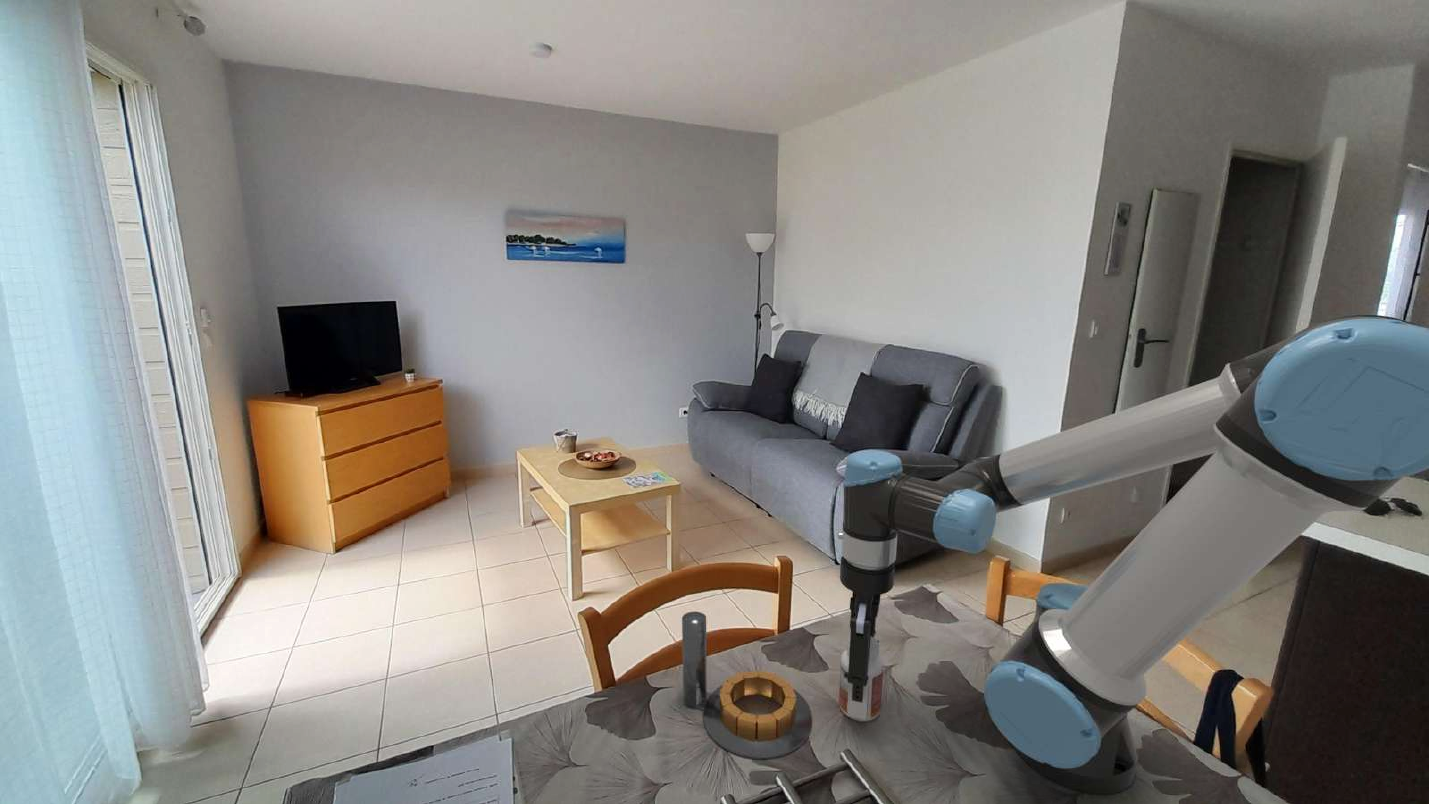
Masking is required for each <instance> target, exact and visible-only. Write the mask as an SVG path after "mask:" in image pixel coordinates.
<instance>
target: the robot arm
mask: <svg viewBox="0 0 1429 804" xmlns="http://www.w3.org/2000/svg"><path fill="white" fill-rule="evenodd" d="M1209 455H1211V456H1210V458H1209V459H1207V460H1206V462H1205V463H1203V465H1202V466H1201V467H1200V468H1199V469H1198V470H1197V472H1195V473H1194V475H1193V476H1192V477H1191V478H1190V479H1189V480H1188V481H1187V482H1186V483H1185V484H1184V485H1183V486H1182V487H1181V488H1180V489H1179V490H1178V491H1177V492H1176V493H1175V495H1174V496H1173V497H1172V498H1171V499H1170V500H1169V501H1168V502H1167V503H1166V504H1165V505H1164V507H1163V508H1162V509H1161V510H1159V512H1158V513H1157V514H1156V515H1155V516H1154V517H1153V518H1152V519H1151V520H1150V521H1149V522H1148V523H1147V524H1146V526H1145V527H1144V528H1143V529H1141V531H1140V532H1139V534H1137V535H1136V536H1135V538H1134V539H1132V541H1131V542H1130V543H1129V544H1128V545H1127V546H1126V547H1125V548H1124V549H1123V550H1122V551H1121V553H1119V554H1118V556H1116V558H1114V560H1113V561H1112V562H1111V563H1110V564H1109V565H1108V566H1107V567H1106V569H1105V570H1104V571H1103V572H1102V573H1101V574H1100V575H1099V576H1098V577H1097V578H1096V579H1095V580H1094V581H1093V582H1092V583H1091V584H1090V586H1086V585H1085V586H1084V585H1080V584H1075V583H1069V582H1068V583H1067V582H1052V583H1048V584H1044V585H1043V586H1041V587H1040V588H1039V590H1038V592H1037V593H1038V594H1037V597H1036V599H1035V603H1036V605H1035V613H1034V617H1033V620H1032V622H1031V623H1030V625H1028V627H1027V628H1026V629H1025V631H1023V632H1022V634H1021V635H1020V636H1019V638H1017V640H1016V641H1015V642H1014V643H1013V644H1012V646H1011V647H1010V648H1009V650H1008V651H1007V652H1006V653H1005V655H1004V656H1003V657H1002V658H1001V659H1000V660H999V661H998V662H997V663H995V664H994V665H993V666H992V667H991V669H990V671H989V676H988V677H987V679H986V680H985V684H984V689H983V690H984V691H983V696H984V701H985V704H986V707H987V708H988V713H989V716H990V719H991V720H992V722H993V723H994V725H995V726H996V728H997V729H998V731H999V733H1001V734H1002V735H1003V737H1005V738H1006V740H1007V741H1008V742H1010V743H1011V746H1012V747H1013V749H1014V750H1015V751H1016V753H1017V754H1018V755H1019V757H1020V758H1022V760H1023V761H1025V763H1026V764H1028V765H1029V766H1030V767H1031V768H1033V769H1034V770H1036V771H1037V772H1038V773H1040V774H1041V775H1042V776H1044V777H1046V778H1048V779H1049V780H1051V781H1053V782H1055V783H1056V784H1057V783H1058V784H1059V785H1062V786H1064V787H1067V788H1069V789H1073V790H1077V791H1080V792H1083V793H1089V794H1094V795H1095V794H1096V795H1110V794H1116V793H1120V792H1122V791H1125V790H1126V789H1127V788H1129V787H1130V786H1131V785H1132V784H1133V782H1134V780H1135V776H1136V772H1137V766H1138V765H1137V764H1138V756H1137V751H1136V748H1135V743H1134V739H1133V735H1132V731H1131V726H1130V723H1129V719H1128V713H1130V712H1131V711H1132V710H1134V709H1135V708H1136V707H1137V706H1138V705H1139V704H1140V703H1142V702H1143V700H1145V698H1146V696H1147V691H1148V690H1147V683H1146V680H1145V676H1144V675H1145V674H1146V673H1147V672H1148V671H1149V670H1151V669H1152V667H1154V666H1155V664H1157V663H1158V662H1159V661H1160V660H1161V659H1163V658H1164V657H1165V656H1166V655H1167V654H1169V652H1170V651H1172V650H1173V649H1174V648H1175V647H1176V646H1177V645H1178V644H1180V642H1182V641H1183V640H1184V639H1185V638H1187V636H1188V635H1189V634H1191V633H1192V632H1193V631H1194V630H1195V629H1196V628H1197V627H1198V626H1200V625H1201V624H1202V623H1203V622H1205V620H1207V619H1208V618H1209V617H1210V616H1211V615H1213V613H1215V612H1216V610H1218V608H1220V607H1221V606H1222V605H1223V604H1224V603H1225V602H1227V601H1228V600H1229V599H1230V598H1231V597H1232V596H1233V595H1235V594H1236V593H1237V592H1238V591H1239V590H1240V589H1241V588H1242V587H1244V586H1245V585H1246V584H1247V583H1248V582H1249V581H1250V580H1252V579H1253V577H1255V576H1256V575H1257V574H1258V573H1259V572H1260V571H1262V570H1263V569H1264V568H1265V567H1266V566H1267V565H1268V564H1269V563H1270V562H1272V561H1273V560H1274V559H1275V558H1276V557H1278V555H1279V554H1281V553H1282V552H1283V551H1284V550H1285V549H1287V547H1288V546H1290V545H1291V544H1292V543H1293V542H1294V541H1295V540H1297V539H1298V537H1300V536H1301V535H1302V534H1303V533H1304V532H1305V531H1307V530H1308V529H1309V528H1310V527H1311V526H1312V525H1313V524H1315V522H1316V521H1318V520H1319V519H1320V518H1321V517H1323V515H1324V514H1327V513H1330V512H1359V511H1360V512H1361V511H1364V510H1366V509H1367V508H1369V507H1370V506H1371V505H1372V504H1373V503H1375V501H1377V500H1378V499H1379V498H1381V497H1382V496H1383V495H1384V494H1385V493H1387V491H1389V490H1390V489H1391V488H1392V487H1393V486H1394V485H1396V484H1397V483H1398V482H1399V481H1400V480H1401V479H1403V478H1404V477H1408V476H1412V475H1416V474H1417V473H1421V472H1424V471H1427V470H1429V328H1428V327H1424V326H1419V325H1417V324H1415V323H1412V322H1411V321H1406V320H1404V319H1401V318H1396V317H1393V316H1385V315H1379V314H1353V315H1345V316H1337V317H1333V318H1329V319H1326V320H1323V321H1320V322H1317V323H1314V324H1312V325H1309V326H1307V327H1306V328H1304V329H1302V330H1300V331H1298V332H1297V333H1295V334H1293V335H1291V336H1289V337H1287V338H1285V339H1284V340H1281V341H1280V342H1277V343H1275V344H1273V345H1271V346H1268V347H1267V348H1264V349H1262V350H1260V351H1258V352H1255V353H1253V354H1250V355H1248V356H1246V357H1242V358H1240V359H1238V360H1237V359H1236V360H1234V361H1232V362H1229V363H1227V364H1225V366H1224V368H1223V370H1222V372H1221V374H1220V375H1219V376H1217V377H1215V378H1213V379H1209V380H1206V381H1204V382H1201V383H1199V384H1195V385H1193V386H1188V387H1187V388H1184V389H1180V390H1178V391H1175V392H1172V393H1169V394H1166V395H1164V396H1161V397H1158V398H1155V399H1152V400H1150V401H1147V402H1144V403H1141V404H1138V405H1135V406H1132V407H1129V408H1126V409H1123V410H1121V411H1118V412H1115V413H1112V414H1109V415H1107V416H1106V415H1105V416H1103V417H1100V418H1098V419H1095V420H1092V421H1089V422H1086V423H1083V424H1081V425H1077V426H1075V427H1072V428H1069V429H1066V430H1063V431H1061V432H1058V433H1055V434H1052V435H1049V436H1046V437H1043V438H1040V439H1038V440H1035V441H1032V442H1029V443H1026V444H1024V445H1023V444H1022V445H1020V446H1018V447H1015V448H1011V449H1009V450H1006V451H1003V452H1002V453H998V454H994V455H992V456H986V457H979V458H977V459H974V460H971V461H970V462H968V463H965V465H964V466H963V467H961V468H959V469H958V470H956V471H953V472H951V473H950V474H949V475H947V476H944V477H943V478H941V479H939V480H937V481H934V480H932V481H931V480H927V479H924V478H919V477H915V476H912V475H908V474H905V473H903V466H902V465H903V462H902V460H901V458H900V457H899V456H897V455H896V454H893V453H891V452H888V451H884V450H877V449H875V450H874V449H867V450H866V449H865V450H858V451H856V452H853V453H851V454H850V455H849V456H848V457H847V460H846V462H845V472H844V481H843V483H842V485H843V516H842V517H843V519H842V520H843V521H842V532H838V534H837V538H838V539H839V540H842V542H841V557H840V568H839V569H840V571H839V579H840V583H841V585H842V586H843V587H844V588H846V589H847V590H849V591H851V592H852V596H851V597H850V600H849V610H850V618H849V619H850V620H849V627H850V636H849V637H850V653H849V669H848V672H845V673H844V678H847V680H848V681H847V682H848V683H849V688H848V708H847V715H848V716H852V717H856V718H860V719H864V720H866V718H867V703H868V686H869V676H868V666H869V653H870V641H871V637H873V638H875V636H876V634H877V632H876V623H877V617H878V616H879V615H878V614H879V611H880V610H879V608H880V603H881V595H884V594H887V593H889V592H890V591H891V590H892V589H893V588H894V582H895V571H896V570H895V569H896V564H895V561H896V559H897V545H898V544H897V543H898V532H901V533H904V534H908V535H910V536H914V537H916V538H919V539H921V540H925V541H929V542H931V543H933V544H937V545H941V547H944V548H946V549H951V550H958V551H962V552H965V553H966V552H967V553H970V554H978V553H980V552H982V551H983V550H984V549H985V548H987V546H988V543H989V541H990V540H991V539H992V536H993V533H994V530H995V525H996V520H997V514H999V513H1002V512H1006V511H1008V510H1012V509H1017V508H1020V507H1022V506H1026V505H1028V504H1033V503H1036V502H1039V501H1042V500H1043V501H1044V500H1047V499H1050V498H1054V497H1057V496H1061V495H1064V494H1069V493H1073V492H1076V491H1079V490H1080V491H1081V490H1083V489H1089V488H1091V487H1094V486H1098V485H1102V484H1106V483H1110V482H1113V481H1117V480H1120V479H1125V478H1128V477H1132V476H1136V475H1138V474H1139V475H1140V474H1143V473H1146V472H1151V471H1155V470H1157V469H1162V468H1165V467H1170V466H1172V465H1175V464H1179V463H1183V462H1187V461H1192V460H1194V459H1198V458H1202V457H1206V456H1209ZM876 640H877V639H876ZM877 641H878V643H880V640H877ZM847 715H846V716H847ZM848 716H847V717H848Z"/></svg>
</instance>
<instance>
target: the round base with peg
mask: <svg viewBox="0 0 1429 804" xmlns="http://www.w3.org/2000/svg"><path fill="white" fill-rule="evenodd" d="M681 622H682V623H681V624H682V625H681V626H682V627H681V628H682V629H681V634H682V638H681V639H682V641H681V642H682V697H683V699H682V702H683V704H684V705H685V707H687V708H689V709H693V710H695V709H696V710H700V711H703V714H702V715H703V724H704V728H705V731H706V732H707V734H708V735H709V737H710V738H711V739H712V740H713V742H714V743H715V744H716V745H717V746H719V747H720V748H722V749H723V750H725V751H726V752H728V753H731V754H733V755H735V756H737V757H742V758H744V759H745V758H746V759H751V760H752V759H753V760H771V759H776V758H777V759H778V758H781V757H783V756H787V755H789V754H791V753H793V752H795V751H796V750H798V749H800V747H802V746H803V745H804V744H805V742H806V741H807V739H808V738H809V736H810V734H811V731H812V727H813V715H812V711H811V708H810V706H809V704H808V701H806V699H805V698H804V696H803V695H802V694H801V693H800V692H798V691H797V690H796V689H795V688H793V686H792V685H791V683H789V682H788V681H787V680H785V679H784V678H782V677H781V676H780V675H777V674H776V673H772V672H767V671H762V670H759V671H758V670H750V671H749V670H748V671H741V672H738V673H736V674H734V675H733V676H731V677H729V678H727V679H726V681H724V683H723V684H722V685H721V686H719V687H717V688H716V689H715V690H714V691H713V692H712V693H711V692H707V687H708V686H707V675H708V674H707V672H708V671H707V616H706V614H704V613H703V612H701V611H689V612H686V613H684V614H683V615H682V617H681Z"/></svg>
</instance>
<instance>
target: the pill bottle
mask: <svg viewBox="0 0 1429 804" xmlns="http://www.w3.org/2000/svg"><path fill="white" fill-rule="evenodd" d="M878 641H879V640H878ZM878 641H877V639H876V638H875V637H874V638H873V637H871V641H870V653H869V666H868V676H869V686H868V703H867V718H866V720H864V719H860V718H856V717H852V716H848V715H847V708H848V688H849V683H848V682H847V681H848V680H847V678H844V673H845V672H848V669H849V653H850V636H848V637H847V639H846V646H845V648H846V649H845V650H844V651H843V652H842V654H841V658H840V667H839V689H838V690H839V694H838V704H839V705H838V706H839V708H840V710H841V712H842V713H843V714H844V715H845V716H847V717H848V718H850V719H852V720H855V721H859V722H870V721H873V720H874V719H876V718H877V717H878V716H879V715H880V713H881V709H882V697H883V696H882V693H883V675H884V662H883V659H882V657H881V655H879V654H880V644H879V643H880V642H879V643H878Z"/></svg>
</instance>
